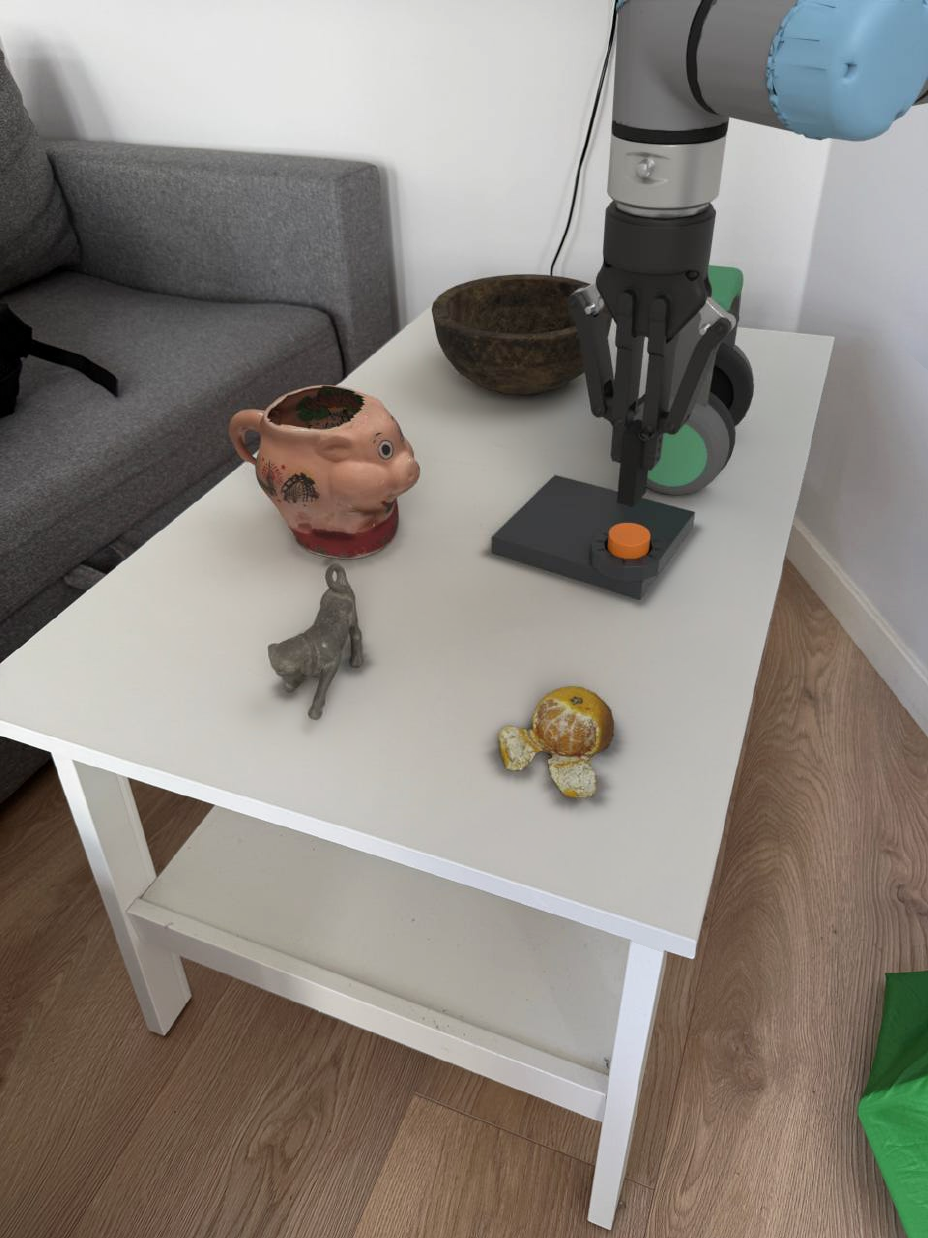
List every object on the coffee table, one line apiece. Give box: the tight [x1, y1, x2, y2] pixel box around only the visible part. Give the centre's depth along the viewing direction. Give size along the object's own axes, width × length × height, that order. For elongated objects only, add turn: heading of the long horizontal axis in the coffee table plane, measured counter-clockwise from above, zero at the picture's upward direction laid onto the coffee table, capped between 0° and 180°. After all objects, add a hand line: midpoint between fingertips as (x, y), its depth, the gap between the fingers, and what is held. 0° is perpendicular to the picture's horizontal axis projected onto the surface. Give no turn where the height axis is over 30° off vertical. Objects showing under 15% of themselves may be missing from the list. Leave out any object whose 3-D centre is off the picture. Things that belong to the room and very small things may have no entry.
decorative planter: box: [227, 384, 421, 560], centre depth 85 cm, size 20×12×14 cm, turn 71°
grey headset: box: [634, 264, 755, 496], centre depth 93 cm, size 19×11×20 cm, turn 157°
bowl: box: [431, 273, 613, 396], centre depth 112 cm, size 22×22×10 cm
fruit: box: [497, 685, 615, 799], centre depth 66 cm, size 8×8×4 cm
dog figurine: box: [267, 562, 364, 721], centre depth 71 cm, size 12×6×7 cm, turn 164°
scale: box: [491, 474, 696, 600], centre depth 86 cm, size 16×14×4 cm
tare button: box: [608, 523, 650, 559], centre depth 80 cm, size 4×4×2 cm
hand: (631, 497), depth 78 cm, fingers closed
